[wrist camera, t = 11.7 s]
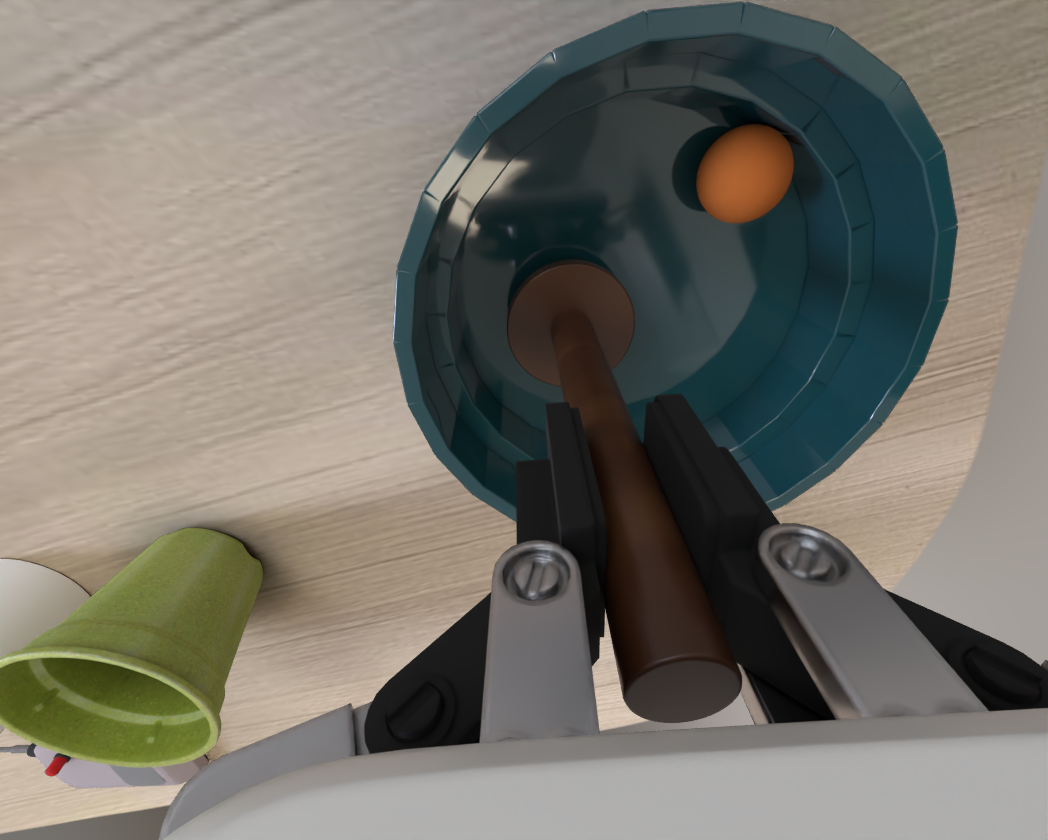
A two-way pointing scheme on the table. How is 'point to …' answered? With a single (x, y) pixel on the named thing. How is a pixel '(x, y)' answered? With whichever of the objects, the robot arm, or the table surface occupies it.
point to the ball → (745, 173)
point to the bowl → (685, 244)
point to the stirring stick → (626, 498)
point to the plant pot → (139, 658)
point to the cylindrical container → (33, 603)
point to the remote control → (107, 770)
